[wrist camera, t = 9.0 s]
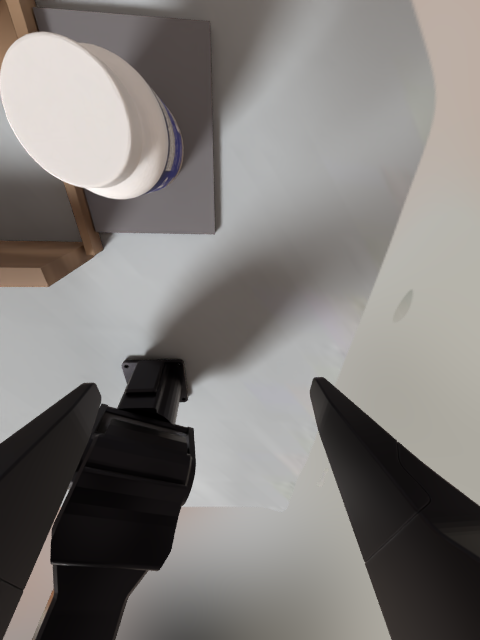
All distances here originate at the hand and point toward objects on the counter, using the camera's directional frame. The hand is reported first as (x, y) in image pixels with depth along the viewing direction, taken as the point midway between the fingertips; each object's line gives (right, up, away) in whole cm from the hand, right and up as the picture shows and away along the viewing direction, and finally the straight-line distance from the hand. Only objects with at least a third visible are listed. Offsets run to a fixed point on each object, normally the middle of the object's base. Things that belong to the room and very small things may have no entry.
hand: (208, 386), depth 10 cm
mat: (-5, +14, +6) cm, 16 cm away
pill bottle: (-5, +14, +6) cm, 16 cm away
